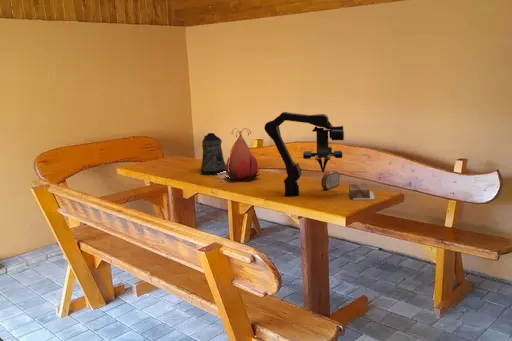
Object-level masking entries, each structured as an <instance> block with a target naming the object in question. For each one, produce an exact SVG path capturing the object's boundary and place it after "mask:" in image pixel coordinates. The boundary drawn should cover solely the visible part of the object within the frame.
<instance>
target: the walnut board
mask: <svg viewBox="0 0 512 341" xmlns="http://www.w3.org/2000/svg"><path fill="white" fill-rule="evenodd" d="M370 191H371V189H370V187H369V185H368V183H357V184H356V183H352V184H351V183H350V184H349V183H348V194H349V197H350V199H353V198H370Z"/></svg>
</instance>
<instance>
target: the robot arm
mask: <svg viewBox="0 0 512 341" xmlns="http://www.w3.org/2000/svg"><path fill="white" fill-rule="evenodd" d="M329 119H330V118H329V117H328V115H327V114H325V113H317V114H303V113H293V112H287V111H283V112H281V113H280V114H279V115H278V116H277V117H275V118H274V119H273V120H270V121H267V122H266V123H265V124H264V131H265V133H266V134H267V135H268V137H269V138H270V139H272V140H273V142H274V145H275V147H276V149H277V151H278V153H279V154H280V157H281V159H282V161H283V163H284V166H285V169H286V175H287V176H286V178H284V180H283V184H284V196H285V197H298V195H299V194H300V192H299V191H300V186H299V183H298V180H299V179H300V178H301V176H302V168H301V167H300V164H299V162H297V163H296V162H294V160H293V158H292V156H291V154H290V152H289V150H288V148H287V146H286V144H285V142H284V140H283V138H282V136H281V135H282V134H281V129H280V126H281V125H282V124H283V123H284V122H286V121H289V122H296V123H304V124H305V123H306V124H309V125H312V126H315V127H314V128H313V129H312V130H311V131H312V132H313V133H314V132H316V135H315V137H316V152H312V151H311V150H308V151H307V150H305V151H304V152H303V153H302V154H303V159H304V160H307V159H311V158H313V157H315V158H314V159H315V161H317V162H318V164H319V166H320V169H321V173H325V169H326V166H327V165H328V164H327V163H328V161H331V157H334V158H335V159H343V151H342V150H332V149H333V147H332V146H329V139H331V141H344V140H345V131H344V130H345V129H344V125H340V126H336V125H335V126H334V125H332V123H331V122H330V121H329ZM322 159H323V160H322Z"/></svg>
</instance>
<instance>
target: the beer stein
mask: <svg viewBox="0 0 512 341" xmlns="http://www.w3.org/2000/svg"><path fill="white" fill-rule="evenodd" d="M222 141H223V140H222V139H221V138H220V137H219V136H217V135H216V134H215V133H214V132H209V133H207V134H206V135H204V137H203V139H202V141H201V143H202V144H201V145H202V147H201V148H202V159H201V160H202V161H201V166H200V172H201V174H202V175H203V176H210V175H212V176H217V175H216V174H217V173H220V172H223V171H225V168H226V162H225V159H224V154H223V149H222ZM224 167H225V168H224Z"/></svg>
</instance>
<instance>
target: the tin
mask: <svg viewBox="0 0 512 341" xmlns="http://www.w3.org/2000/svg"><path fill="white" fill-rule="evenodd" d="M340 177H341V176H340V173H339V172H338V171H336V170H332V171H328V172H326V173H325V172H324V174H323V176H322V178H321V182H320V184H321V188H322V189H323V190H324V189H325V190H330V189H332V188H336V187H337V186H338V185H339V183H340Z"/></svg>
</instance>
